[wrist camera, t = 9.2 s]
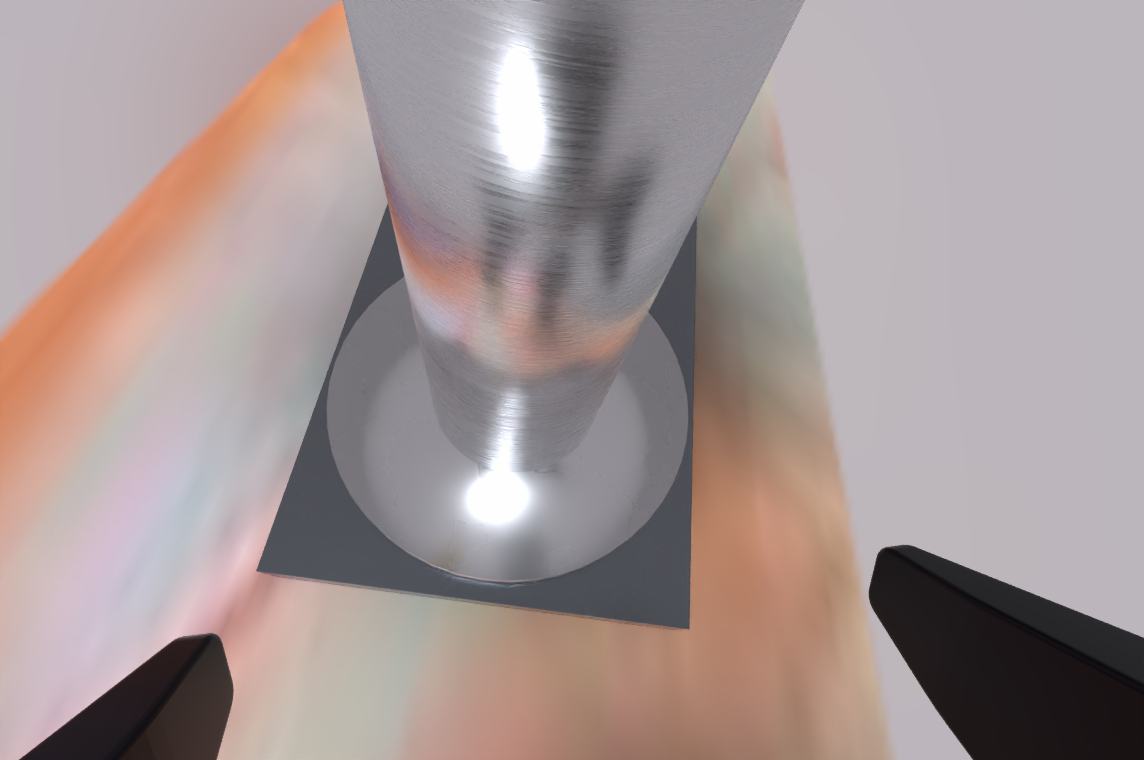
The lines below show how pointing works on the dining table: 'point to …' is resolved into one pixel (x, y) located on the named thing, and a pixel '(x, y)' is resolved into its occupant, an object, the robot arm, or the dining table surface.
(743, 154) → the dining table surface
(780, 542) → the dining table surface
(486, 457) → the silver metal bottle
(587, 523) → the stand
